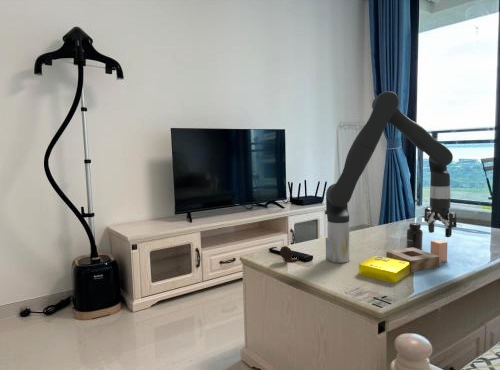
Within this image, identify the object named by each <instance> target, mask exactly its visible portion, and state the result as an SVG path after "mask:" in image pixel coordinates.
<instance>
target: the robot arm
mask: <svg viewBox="0 0 500 370" xmlns="http://www.w3.org/2000/svg"><path fill="white" fill-rule="evenodd" d="M399 104H400V100H399V97H398V95H397V94H396V92H394V91H384V92H381V93H379V94H378V95H377V96H376V97H374V99H373V101H372V105H371V108H372V111H371V114H370V116H369V118H368V120H367V121H366V123H365V125H364V126H363V127H362V128H361V130H360V131H359V133H358V134H357V136H356V137H355V139H354V140H353V142H352V144H351V145H350V148H349V150H348V152H347V155H346V158H345V162H344V166H343V170H342V172H341V174H340V176H339V178H338V179H337V182H336V183H332V184H331V185H329V186H328V187H327V189H326V193H325V205H326V207H325V208H326V216H327V217H326V219H327V221H326V223H327V228H326V229H327V237H325V259H326V260H328V261H330V263H333V264H334V263H337V264H339V263H340V264H342V263H348V262H349V261H350V213H349V209H348V208H349V207H348V203H349V202H350V201H351V198H352V196H353V194H354V191H355V189H356V186H357V183H358V181H359V179H360V177H361V175H362V174H363V172H364V171H365V169H366V167H367V165H368V164H369V161H370V160H371V158H372V156H373V154H374V152H375V151H376V148H377V146H378V144H379V142H380V140H381V137H382V134H384V133H383V132H384V130H385V128H386V126H387V125H388V123H389V124H390V125H392V126H393V127H394V128H395V129H397V130H398V131H399V132H400V133H401V134H402V135H404V137H406V139H408V140H409V141H410V143H412V144H413V145H414V146H415V147H416V148H417V149H418V150H419V151H421V152H423V153H424V154H426V155H428V164H429V172H430V189H429V190H430V191H429V207H426V208H424V217H423V218H424V219H423V221H424V222H425V223H427V224H428V225H427V226H428V228H427V229H428V233H430V234H431V233H435V224H434V223H435V222H436V221H438V222H441V223H442V224H443V225H444V227H445V230H444V231H445V232H444V233H445V235H444V237H445V238H450V237H452V235H453V234H452V232H453V231H452V230H453V228H457V213H456V212H450V208H451V176H450V173H449V172H448V167H447V166H448V165H450V164H451V163H452V162H453V159H454V158H453V157H454V156H453V153H452V151H451V150H450V149H449V148H448V147H447V146H445V145H444V144H443V143H441V142H440V141H438V140H437V139H435V138H434V137H433V136H432V135H431V134H430V133H429V132H428V130H426V129H425V128H423V126H421V125H420V124H419V123H417V122H415V121H414V120H412V119H410V118H409V117H408V116H406V114H404V113H403V112H402V111H401V109H399V108H398V107H399Z"/></svg>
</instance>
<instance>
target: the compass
mask: <svg viewBox="0 0 500 370" xmlns="http://www.w3.org/2000/svg"><path fill="white" fill-rule="evenodd" d="M279 254H280V256H281V258H282V259H283V260H284V261H286V262H290V263H291V262H292V263H294V262H298V261H299V258H298V259H297V257H298V256H297V257H296V258H295V257H294V258H292V256H293V255H294V254H293V250H292V249H291V247H289V246H288V245H286V246H281V247H280V250H279Z"/></svg>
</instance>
